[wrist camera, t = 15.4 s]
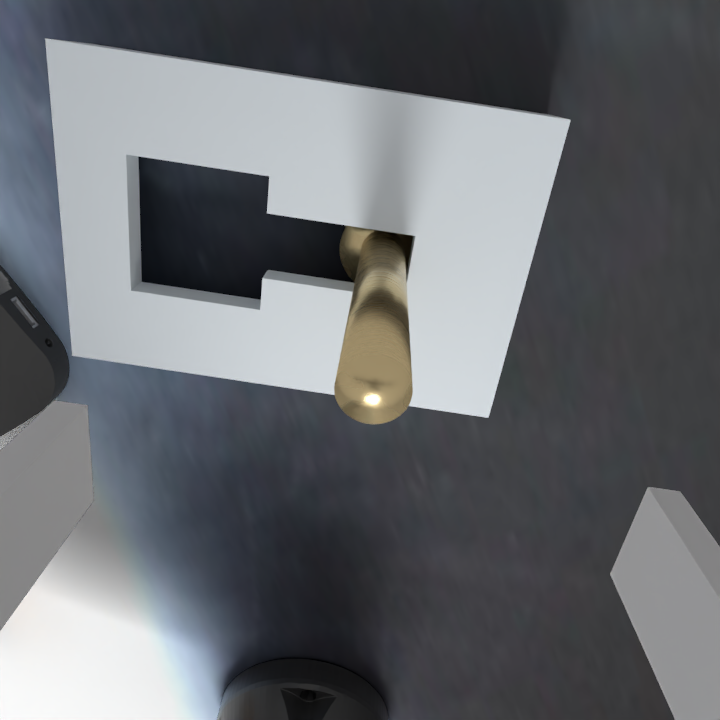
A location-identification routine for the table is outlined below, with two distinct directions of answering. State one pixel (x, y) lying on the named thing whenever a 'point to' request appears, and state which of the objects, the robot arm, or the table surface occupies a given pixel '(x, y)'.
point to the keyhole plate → (298, 215)
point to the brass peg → (375, 327)
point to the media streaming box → (26, 358)
